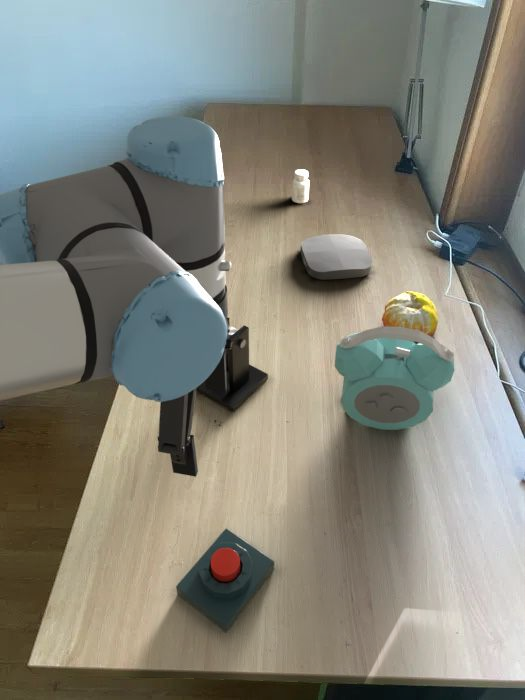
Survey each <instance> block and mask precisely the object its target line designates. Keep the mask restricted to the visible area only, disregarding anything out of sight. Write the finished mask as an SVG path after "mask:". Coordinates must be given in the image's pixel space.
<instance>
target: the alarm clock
mask: <svg viewBox="0 0 525 700" xmlns="http://www.w3.org/2000/svg"><path fill="white" fill-rule="evenodd" d="M412 341H415V342H419V343H414V342H412ZM335 348H336V349H335V357H334V368H335V369H336V371H337V372H338V374H339V375H341V376H342V377H343V380H342V391H341V404H342V409H343V410H344V412H345V413H346V415H347V416H349V418H350V419H352V420H354V421H356V422H357V423H359V424H361V425H362V426H366V427H370V428H373V429H378V430H387V431H399V430H403V429H404V430H405V429H409V428H413V427H415V426H417V425H419V424H421V423H423V422H425V421H426V420H427V419H428V418H429V417H430V416H431V414H432V413H433V411H434V392H435V391H437V390H439V389H441V388H444V387H445V386H446V385H447V384H449V383H450V382H451V381H452V380H453V379H452V378H453V376H454V374H455V353H454V351H453V349H450V348H448V347H446V346H445V345H443V344H441V343H440V342H439V341H438V340H436V339H435V338H434V337H433V336H429V335H427V334H425V333H423V332H421V331H419V330H414V329H409V328H404V327H388V326H384V325H382V326H378V327H373V328H369V329H365V330H363V331H360V332H355V333H352V334H349V335H345V336H344V337H343V338H341V340H340V342H339V343H338V344H337V345H336V347H335Z"/></svg>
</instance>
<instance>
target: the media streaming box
mask: <svg viewBox="0 0 525 700" xmlns="http://www.w3.org/2000/svg"><path fill="white" fill-rule="evenodd" d="M300 256H301V260H302V262H303V265H304V268H305V271H306V272H307V274H308V275H309V276H310V277H312V278H313V279H314V278H315V279H317V280H340V279H352V278H362V277H365V276H368V275H369V274H370V273H371V271H372V266H373V259H372V256H371V253H370V251H369V248H368V247H367V245H366V244H365V242H364V241H363V240H362V239H361V238H358V237H356V236H354V235H350V234H340V233H329V234H320V235H313V236H310V237H308V238H305V239H304V240H303V241H302V242H301V243H300Z"/></svg>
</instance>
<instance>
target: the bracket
mask: <svg viewBox="0 0 525 700" xmlns="http://www.w3.org/2000/svg"><path fill="white" fill-rule="evenodd" d="M227 321H228V324H229V326H231V325H230V317H228V316H227ZM237 330H238V331H237V332H235V333H234V334H233V335H232V336H231V337H229V338H228V340H232V347H231V349H224V351H225V354H226V375H227V389H226V392H225V391H219V390H213V389H206V385H205V381H204V382H203V383H202V384H200V385H199V386H198V387H197V390H196V393H198V394H200V395H202V396H203V397H205V398H207V399H208V400H210V401H212V402H214V403H215V404H217V405H220V406H221V407H223V408H225V409H226V410H227V411H229V412H231V413H235V411H236V410H237V409H239V407H241V405H243V404H244V403H245V402H246V401H247V400H248V399H250V397H251V396H252V395H253V394H254V393H255V392H256V391H257V390H258V389H259V388H260V387H261V386H262V385H263V384H264V383H265V382H266V381H267V380H268V379H269V373H267V372H265V371H263V370H261V369H259V368H258V367H255V366H253V365H251V364H250V328H249V326H247V325H244V324H243V325H242V326H241V327H240V328H239V329H237Z"/></svg>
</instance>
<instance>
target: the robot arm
mask: <svg viewBox="0 0 525 700" xmlns="http://www.w3.org/2000/svg"><path fill="white" fill-rule="evenodd" d="M125 153H126V157H127V158H124V159H121V160H117V161H114V162H113V163H112V164H108V165H105V166H101V167H97V168H93V169H89V170H85V171H81V172H76V173H73V174H72V173H71V174H68V175H65V176H59V177H56V178H52V179H49V180H44V181H40V182H36V183H32V184H30V183H25V184H23V185H22V186H20V187H19V188H16V189H12V190H10V191H9V190H8V191H7V192H4V193H1V194H0V402H1V401H5V400H10V399H14V398H19V397H23V396H28V395H32V394H36V393H41V392H44V391H49V390H54V389H59V388H62V387H67V386H71V385H76V384H81V383H87V382H91V381H98V380H101V379H105V378H111V377H114V379H115V381H116V382H117V384H118V385H119V386H123V387H124V388H126V390H127V391H128V392H129V393H130V394H132V395H133V396H135V397H136V398H137V399H142V400H148V401H154V402H156V403H158V402H160V405H159V423H158V436H157V437H156V438H157V442H158V443H157V451H158V453H163V454H168V455H170V462H171V468H172V473H173V474H180V475H183V476H189V477H194V478H195V477H197V476H198V472H199V470H198V469H199V468H198V460H197V459H198V458H197V453H196V452H197V451H196V443H195V435H194V434H192V427H193V420H194V414H195V413H194V412H195V404H196V396H197V392H196V390H197V387H198V386H199V385H200V384H202V383H203V382H204V381H205V385H206V389H213V390H219V391H225V392H226V389H227V375H226V354H225V351H224V349H231V347H232V340H228V339H227V336H228V334H229V333H230V329H229V324H228V321H227V317H228V316H229V302H228V301H229V299H228V286H227V272H230V271H231V270H232V263H231V261H229V260H226V234H225V233H226V232H225V231H226V230H225V199H224V196H225V195H224V193H225V192H224V186H225V185H224V184H225V183H226V182H225V181H226V180H225V175H224V168H223V159H222V158H223V157H222V150H221V147H220V140H219V136H218V134H217V132H216V131H215V130H214V129H213V127H211V126H210V125H208V124H206V123H204V122H203V121H202V120H200V119H196V118H193V117H188V116H187V117H186V116H179V115H169V116H168V115H167V116H160V117H153V118H149V119H146V120H144V121H142V122H141V124H137V125H135V126H133V127H132V128H131V129H130V130H129V132H128V134H127V136H126V150H125Z"/></svg>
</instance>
